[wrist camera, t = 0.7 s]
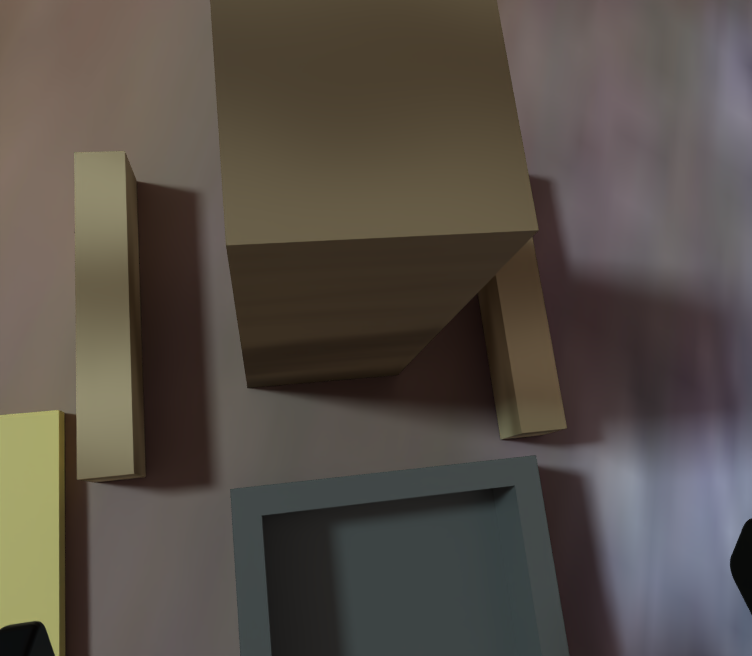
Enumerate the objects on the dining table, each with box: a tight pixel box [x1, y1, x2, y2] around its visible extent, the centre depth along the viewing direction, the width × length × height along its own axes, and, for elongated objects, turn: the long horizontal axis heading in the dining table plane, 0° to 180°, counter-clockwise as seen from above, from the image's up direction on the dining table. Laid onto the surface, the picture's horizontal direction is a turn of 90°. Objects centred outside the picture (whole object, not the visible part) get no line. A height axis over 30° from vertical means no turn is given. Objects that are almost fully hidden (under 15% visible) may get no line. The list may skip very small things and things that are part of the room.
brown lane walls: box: [74, 151, 567, 482], centre depth 22 cm, size 10×14×2 cm
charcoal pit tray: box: [230, 455, 569, 656], centre depth 20 cm, size 9×9×2 cm
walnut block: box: [210, 0, 539, 388], centre depth 17 cm, size 5×5×12 cm
